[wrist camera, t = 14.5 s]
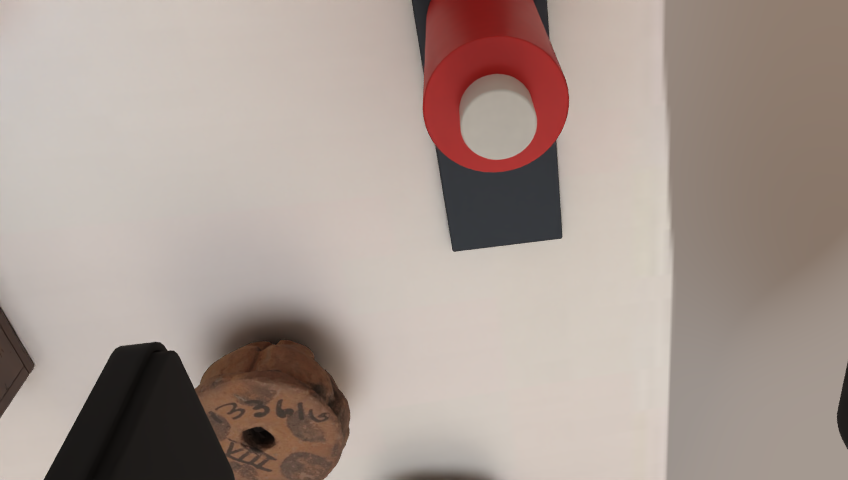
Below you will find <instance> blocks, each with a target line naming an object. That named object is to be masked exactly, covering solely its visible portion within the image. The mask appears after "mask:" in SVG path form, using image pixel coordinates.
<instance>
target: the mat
mask: <svg viewBox="0 0 848 480" xmlns="http://www.w3.org/2000/svg"><path fill="white" fill-rule="evenodd" d="M430 1H431V0H412V4H413V11H414V17H415V23H416V29H417V35H418V41H419V47H420V53H421V60H422V66H423V72H424V65H425V40H426V17H427V11H428V7H429V4H430ZM533 1H534V4H535V6H536V9H537V11H538V13H539V16H540V18H541V21H542V23H543V26H544V28H545V31H546V33H547V36H548V38H549V26H548V11H547V0H533ZM435 146H436V145H435ZM436 152H437V158H438V164H439V170H440V176H441V182H442V188H443V195H444V201H445V207H446V213H447V219H448V225H449V231H450V238H451V244H452V250H453V251H454V252H455V251H463V250H471V249H479V248H488V247H496V246H504V245H512V244H520V243H529V242H537V241H545V240H553V239H561V238H562V223H561V208H560V193H559V178H558V163H557V147H556V141H555V142H554V143H553V144H552V146H551V147H550V148H549V149H548V150H547V151H546V152H545V153H544V154H542V155H541V156H540V157H538V158H537V159H536V160H534V161H532V162H531V163H529V164H527V165H524V166H522V167H520V168H516V169H513V170H509V171H504V172H482V171H476V170H472V169H469V168H466V167H464V166H461V165H459V164H457V163H456V162H454V161H452V160H451V159H449V158H448V157H447V156H446V155H444V154H443V153H442V152H441V151H440V150H439V149H438V147H437V146H436Z"/></svg>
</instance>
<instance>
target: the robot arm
mask: <svg viewBox="0 0 848 480" xmlns="http://www.w3.org/2000/svg"><path fill="white" fill-rule="evenodd" d="M837 423H838V428H839V432H840V434H841V437H842V440H843V441H844V443H845V445H846V447H847V449H848V364H847V368H846V373H845V378H844V383H843V388H842V392H841V397H840V402H839V407H838V412H837ZM44 480H235V477H234V473H233V470H232V468H231V466H230V464H229V461H228V459H227V457H226V455H225V453H224V451H223V449H222V446H221V444H220V442H219V440H218V438H217V436H216V434H215V432H214V429H213V427H212V425H211V423H210V421H209V419H208V417H207V415H206V412H205V410H204V408H203V406H202V404H201V402H200V400H199V398H198V395H197V393H196V391H195V389H194V387H193V385H192V383H191V381H190V378H189V376H188V374H187V372H186V370H185V368H184V366H183V364H182V361H181V359H180V357H179V356H178V354H177V353H176V352H175V351H167V349H166V348H165V346H164V345H163V344H161V343H160V342H152V343H143V344H135V345H126V346H120V347H118V348H116V349H115V350H114V351H113V353H112V354H111V356H110V358H109V360H108V361H107V363H106V365H105V367H104V369H103V371H102V373H101V374H100V376H99V378H98V380H97V382H96V384H95V386H94V387H93V389H92V391H91V393H90V395H89V397H88V399H87V400H86V402H85V404H84V406H83V408H82V410H81V412H80V413H79V415H78V417H77V419H76V421H75V423H74V425H73V426H72V428H71V430H70V432H69V434H68V436H67V438H66V439H65V441H64V443H63V445H62V447H61V449H60V451H59V452H58V454H57V456H56V458H55V460H54V462H53V464H52V465H51V467H50V469H49V471H48V473H47V475H46V476H45V478H44Z"/></svg>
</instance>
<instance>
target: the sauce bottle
mask: <svg viewBox="0 0 848 480" xmlns="http://www.w3.org/2000/svg"><path fill="white" fill-rule="evenodd" d="M568 108H569V94H568V87H567V83H566V80H565V77H564V75H563V72H562V70H561V67H560V65H559V62H558V60H557V58H556V55H555V53H554V50H553V48H552V45H551V43H550V40H549V38H548V36H547V33H546V31H545V28H544V26H543V23H542V21H541V18H540V16H539V13H538V11H537V9H536V6H535V4H534V1H533V0H431V1H430V4H429V7H428V11H427V17H426V40H425V65H424V90H423V117H424V121H425V125H426V128H427V131H428V133H429V135H430V137H431V139H432V141H433V142H434V143H435V145H436V146H437V147H438V149H439V150H440V151H441V152H442V153H443V154H444V155H446V156H447V157H448V158H449V159H451V160H452V161H454V162H456V163H457V164H459V165H461V166H464V167H466V168H469V169H472V170H476V171H482V172H504V171H509V170H513V169H516V168H520V167H522V166H524V165H527V164H529V163H531V162H532V161H534V160H536V159H537V158H538V157H540V156H541V155H542V154H544V153H545V152H546V151H547V150H548V149H549V148H550V147H551V146H552V144H553V143H554V142H555V141H556V139H557V138H558V136H559V134H560V133H561V131H562V129H563V127H564V124H565V121H566V118H567V114H568Z"/></svg>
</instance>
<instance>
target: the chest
mask: <svg viewBox="0 0 848 480" xmlns="http://www.w3.org/2000/svg"><path fill="white" fill-rule="evenodd" d="M33 368H34V364H33V363H32V361H31V359H30V358H29V356H28V354H27V353H26V351H25V349H24V347H23V346H22V344H21V342H20V341H19V339H18V337H17V336H16V334H15V332H14V331H13V329H12V327H11V325H10V324H9V322H8V320H7V319H6V317H5V315H4V314H3V312H2V310H1V308H0V418H1V416H2V415H3V413H4V412H5V410H6V409H7V407H8V406H9V404H10V403H11V401H12V400H13V398H14V397H15V395H16V394H17V392H18V391H19V389H20V388H21V386H22V385H23V383H24V382H25V380H26V379H27V377H28V376H29V374H30V373H31V371H32V370H33Z"/></svg>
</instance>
